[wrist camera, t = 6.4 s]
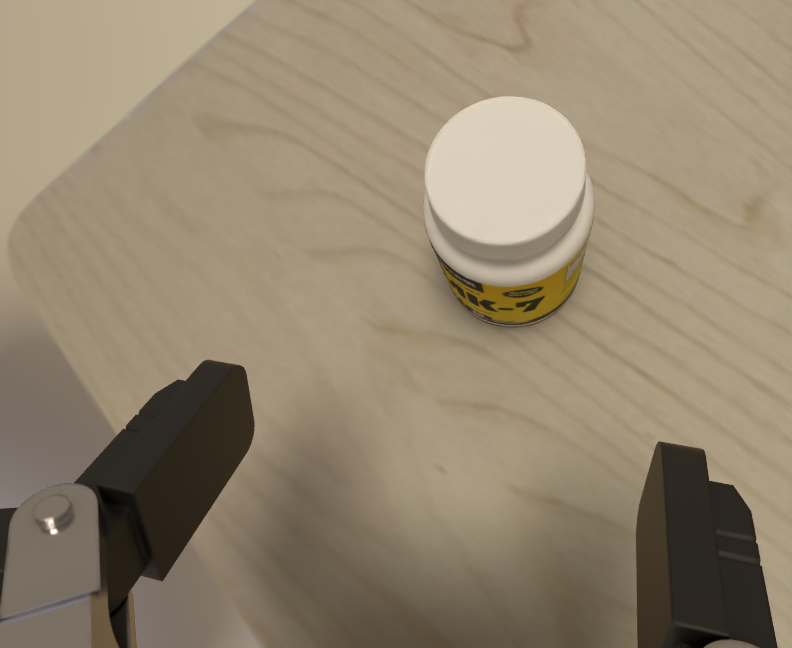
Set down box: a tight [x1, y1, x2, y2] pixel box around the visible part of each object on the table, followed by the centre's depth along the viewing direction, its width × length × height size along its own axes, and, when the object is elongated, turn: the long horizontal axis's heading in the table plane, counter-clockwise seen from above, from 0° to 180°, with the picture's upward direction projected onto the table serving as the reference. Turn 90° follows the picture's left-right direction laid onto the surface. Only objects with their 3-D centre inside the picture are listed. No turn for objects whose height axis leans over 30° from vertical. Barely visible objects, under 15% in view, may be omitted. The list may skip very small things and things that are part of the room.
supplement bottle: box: [423, 96, 595, 326], centre depth 20 cm, size 5×5×8 cm
